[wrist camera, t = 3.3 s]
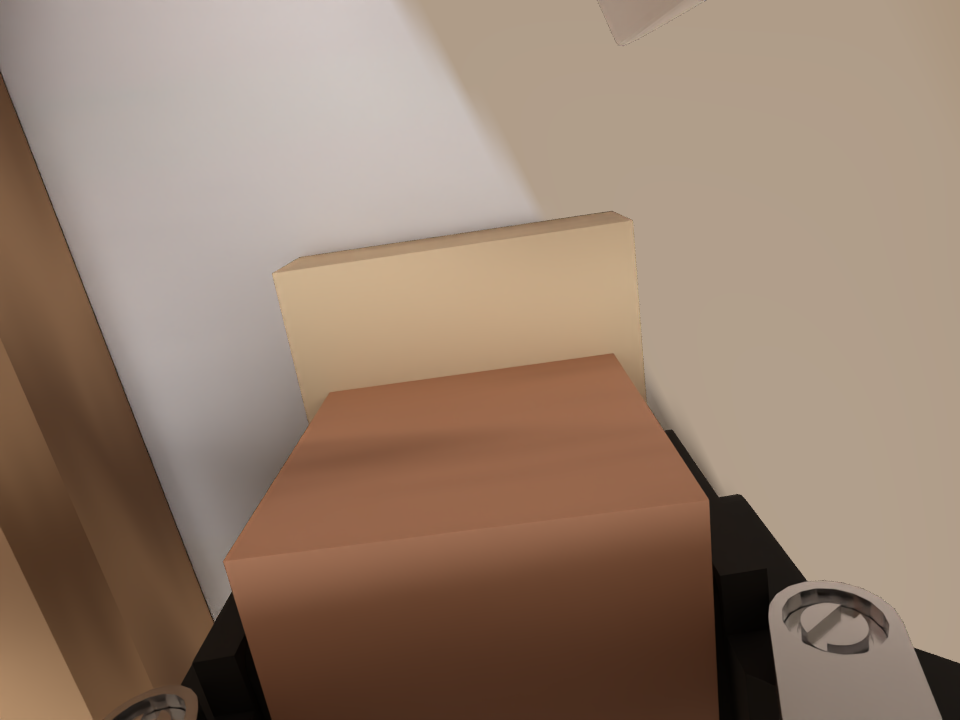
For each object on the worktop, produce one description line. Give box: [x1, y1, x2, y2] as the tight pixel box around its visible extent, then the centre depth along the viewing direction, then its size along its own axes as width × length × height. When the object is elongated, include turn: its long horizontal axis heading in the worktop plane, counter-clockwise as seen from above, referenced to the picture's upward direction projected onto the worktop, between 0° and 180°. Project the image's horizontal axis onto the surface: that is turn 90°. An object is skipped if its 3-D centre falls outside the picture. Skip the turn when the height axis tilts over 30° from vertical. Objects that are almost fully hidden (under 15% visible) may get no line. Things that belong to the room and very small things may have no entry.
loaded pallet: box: [223, 211, 719, 720], centre depth 11 cm, size 10×6×7 cm, turn 8°
